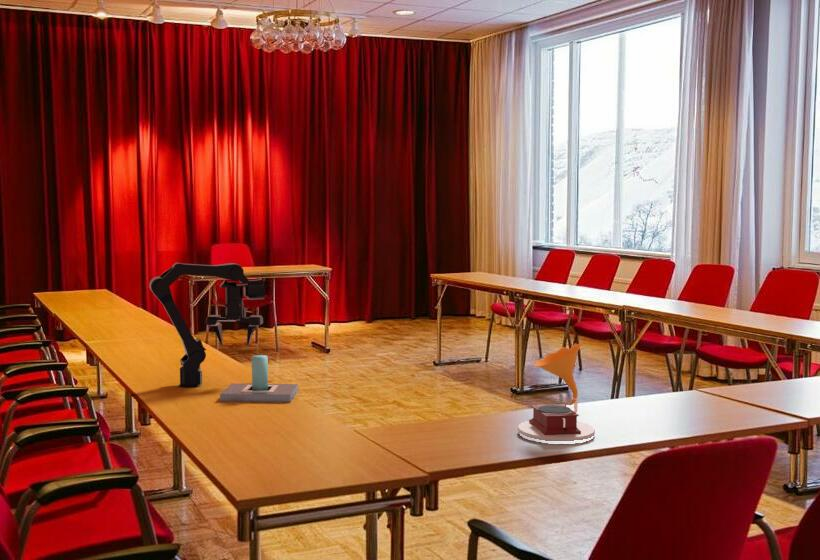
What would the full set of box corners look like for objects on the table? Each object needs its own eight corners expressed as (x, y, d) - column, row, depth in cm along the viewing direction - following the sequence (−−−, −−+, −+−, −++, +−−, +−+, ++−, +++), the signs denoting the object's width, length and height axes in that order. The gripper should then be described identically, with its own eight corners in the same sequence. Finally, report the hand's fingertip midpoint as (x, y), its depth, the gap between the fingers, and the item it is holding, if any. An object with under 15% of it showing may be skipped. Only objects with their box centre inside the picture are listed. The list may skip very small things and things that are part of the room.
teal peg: (249, 397, 289) (248, 356, 288) (259, 394, 293) (259, 354, 292) (260, 398, 287) (260, 358, 285) (271, 396, 291) (271, 356, 290)
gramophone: (578, 424, 256) (580, 336, 254) (606, 443, 236) (608, 348, 234) (508, 427, 253) (510, 338, 250) (531, 446, 233) (532, 350, 230)
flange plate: (220, 401, 282) (220, 393, 282) (231, 390, 298) (231, 382, 298) (290, 402, 282) (290, 393, 281) (298, 391, 298) (298, 383, 297)
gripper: (265, 297, 318) (266, 341, 319) (213, 297, 318) (213, 341, 320) (259, 301, 306) (260, 346, 308) (205, 300, 307) (205, 346, 308)
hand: (235, 345), depth 311 cm, fingers open, 9 cm apart
